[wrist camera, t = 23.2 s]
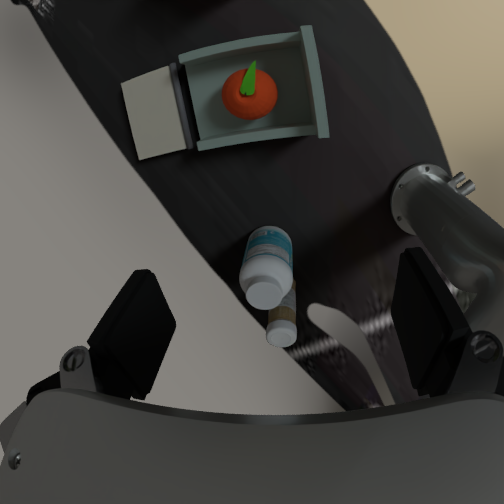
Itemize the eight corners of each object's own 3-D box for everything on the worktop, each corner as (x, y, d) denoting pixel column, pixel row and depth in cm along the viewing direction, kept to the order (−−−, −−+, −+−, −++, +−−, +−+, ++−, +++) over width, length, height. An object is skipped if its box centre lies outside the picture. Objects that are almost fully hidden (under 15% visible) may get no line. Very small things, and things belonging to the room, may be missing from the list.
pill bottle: (277, 269, 49) (272, 325, 37) (240, 249, 48) (225, 302, 36) (300, 237, 45) (304, 290, 34) (261, 215, 44) (252, 263, 32)
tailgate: (174, 62, 30) (120, 82, 32) (192, 148, 37) (139, 161, 39) (176, 63, 31) (124, 82, 33) (194, 147, 38) (142, 159, 39)
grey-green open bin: (305, 40, 29) (311, 25, 21) (319, 128, 35) (329, 137, 28) (186, 61, 32) (161, 54, 24) (204, 144, 38) (183, 157, 31)
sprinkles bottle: (277, 295, 52) (273, 351, 41) (266, 278, 50) (260, 333, 39) (300, 287, 50) (301, 344, 39) (289, 269, 49) (289, 325, 37)
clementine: (233, 60, 30) (222, 53, 24) (284, 68, 30) (284, 62, 24) (223, 113, 35) (210, 117, 29) (273, 122, 35) (270, 127, 29)
